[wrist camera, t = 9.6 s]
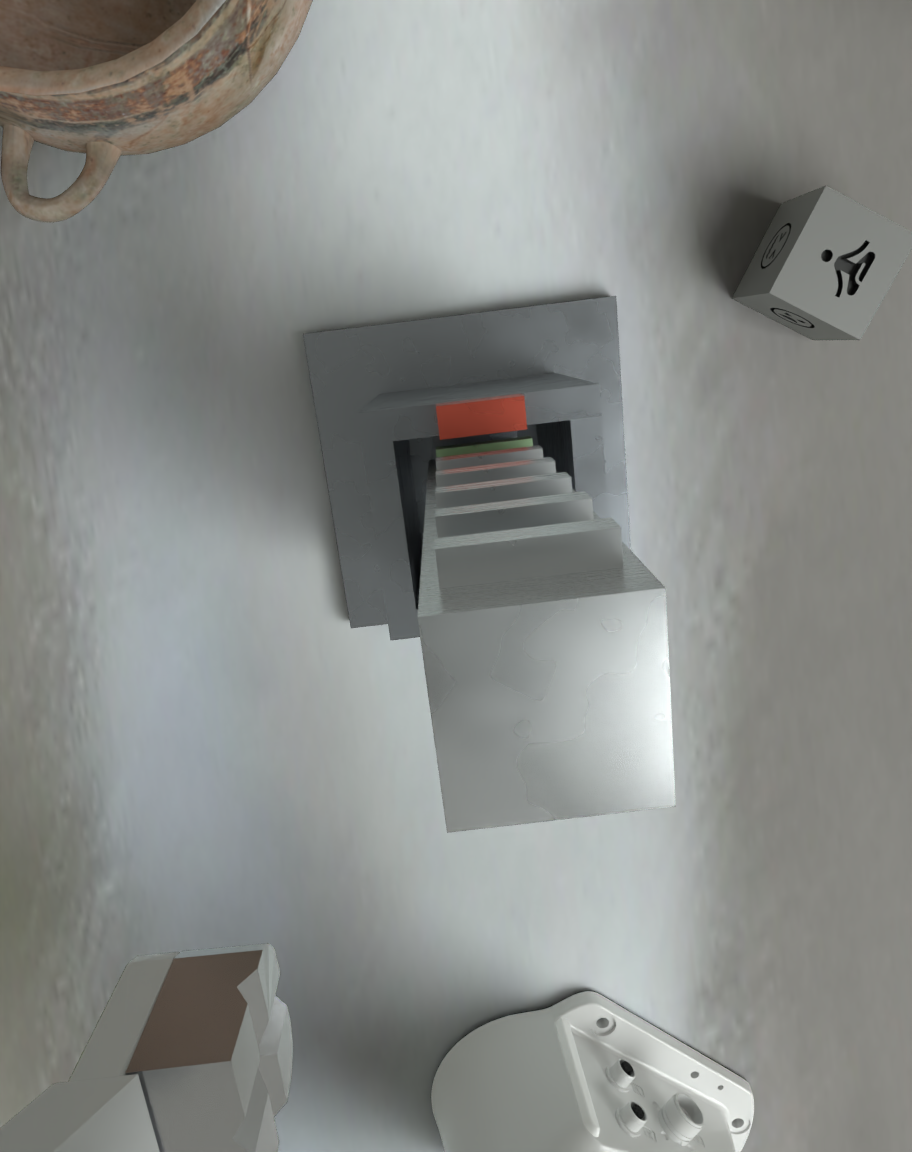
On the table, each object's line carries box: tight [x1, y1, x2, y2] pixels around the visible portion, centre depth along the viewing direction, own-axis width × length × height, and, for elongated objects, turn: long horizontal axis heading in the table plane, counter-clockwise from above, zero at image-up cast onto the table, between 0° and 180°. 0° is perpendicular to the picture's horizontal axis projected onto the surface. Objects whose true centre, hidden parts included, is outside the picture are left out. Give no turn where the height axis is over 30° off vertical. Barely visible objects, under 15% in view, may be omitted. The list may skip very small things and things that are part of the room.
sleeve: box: [303, 296, 631, 640], centre depth 37 cm, size 16×16×14 cm
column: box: [418, 436, 676, 833], centre depth 24 cm, size 4×5×20 cm
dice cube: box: [732, 186, 912, 340], centre depth 39 cm, size 5×5×5 cm
